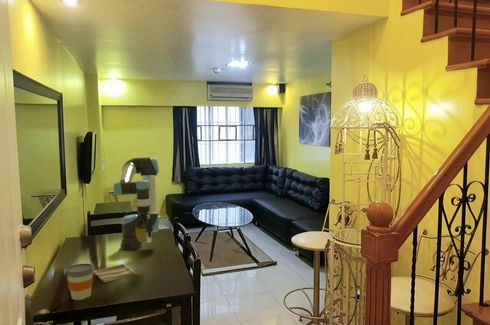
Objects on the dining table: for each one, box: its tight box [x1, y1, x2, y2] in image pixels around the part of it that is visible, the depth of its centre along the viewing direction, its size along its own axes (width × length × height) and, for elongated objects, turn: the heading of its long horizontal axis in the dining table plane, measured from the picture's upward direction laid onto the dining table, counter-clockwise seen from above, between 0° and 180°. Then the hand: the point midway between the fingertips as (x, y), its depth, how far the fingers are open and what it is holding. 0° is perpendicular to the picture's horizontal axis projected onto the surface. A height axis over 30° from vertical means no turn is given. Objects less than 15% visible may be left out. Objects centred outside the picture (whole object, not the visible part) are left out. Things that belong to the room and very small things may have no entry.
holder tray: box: [93, 263, 136, 283], centre depth 225 cm, size 18×18×2 cm
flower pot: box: [135, 225, 154, 243], centre depth 237 cm, size 9×9×9 cm
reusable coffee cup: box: [66, 263, 94, 301], centre depth 195 cm, size 13×13×15 cm
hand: (144, 240), depth 237 cm, fingers closed on flower pot, 11 cm apart
